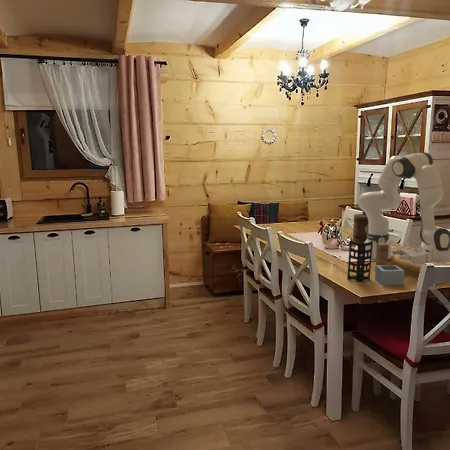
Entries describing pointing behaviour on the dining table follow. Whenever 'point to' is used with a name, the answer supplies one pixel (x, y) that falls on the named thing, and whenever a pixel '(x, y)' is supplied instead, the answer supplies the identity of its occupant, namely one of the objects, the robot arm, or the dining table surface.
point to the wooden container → (360, 227)
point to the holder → (359, 261)
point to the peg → (382, 254)
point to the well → (389, 275)
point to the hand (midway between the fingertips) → (395, 255)
